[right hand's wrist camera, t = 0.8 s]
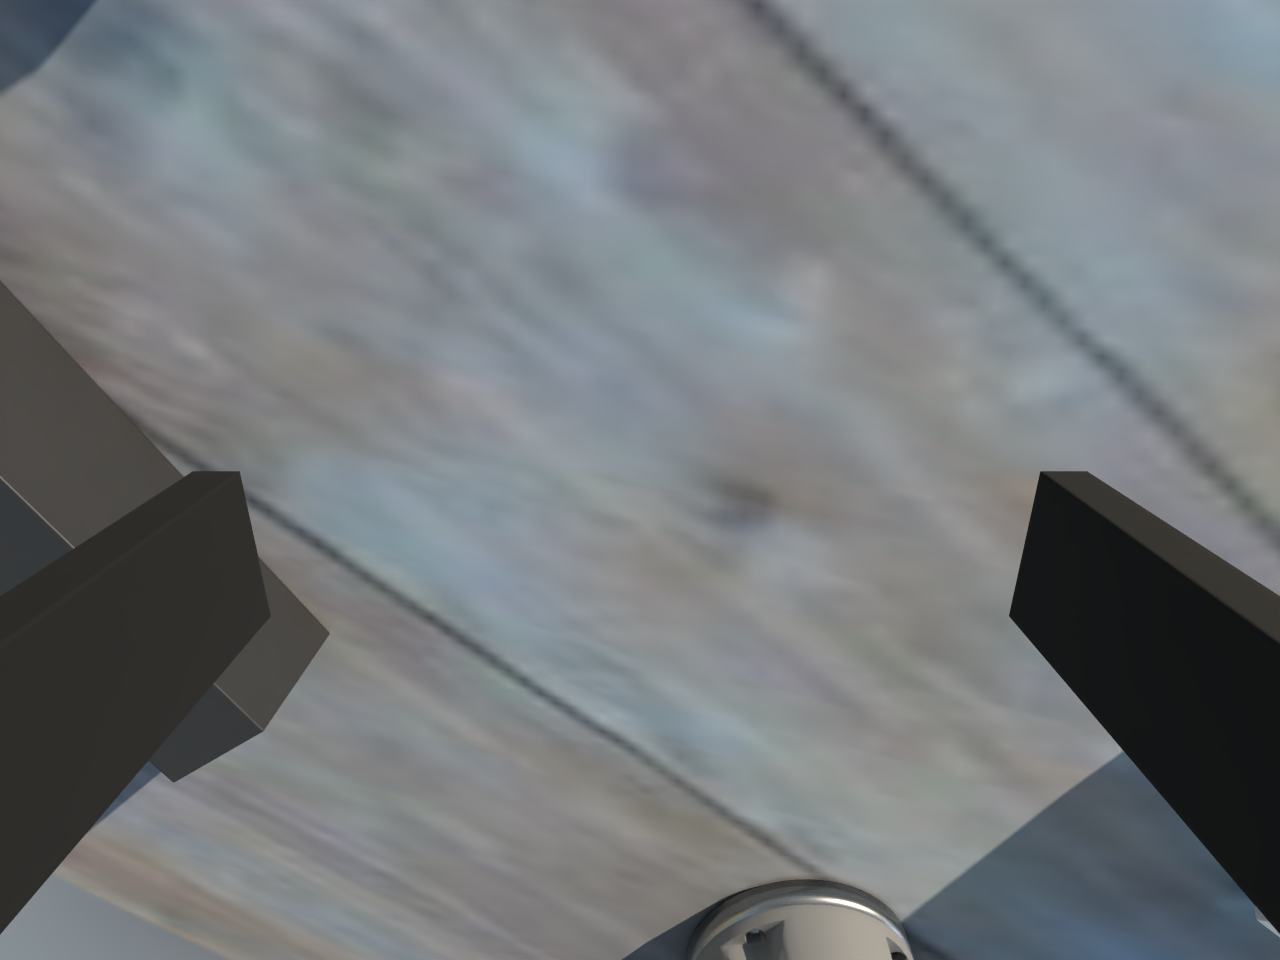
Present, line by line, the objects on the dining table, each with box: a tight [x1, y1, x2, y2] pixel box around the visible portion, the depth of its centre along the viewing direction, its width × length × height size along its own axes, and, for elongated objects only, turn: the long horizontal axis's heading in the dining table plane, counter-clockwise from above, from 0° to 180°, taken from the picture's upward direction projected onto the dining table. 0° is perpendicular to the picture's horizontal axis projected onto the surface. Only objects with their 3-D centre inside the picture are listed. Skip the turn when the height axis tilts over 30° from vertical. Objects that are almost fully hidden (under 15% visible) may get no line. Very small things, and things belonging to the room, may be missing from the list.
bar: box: [0, 281, 329, 782], centre depth 34 cm, size 28×6×8 cm, turn 32°
